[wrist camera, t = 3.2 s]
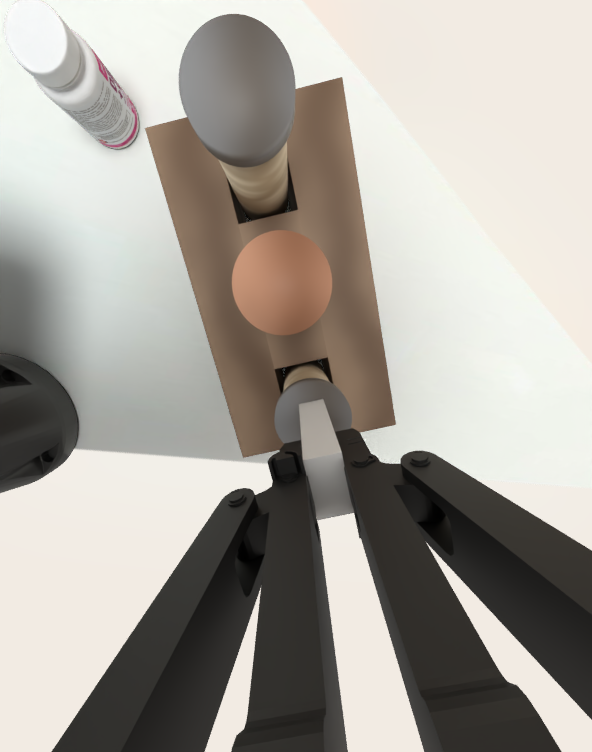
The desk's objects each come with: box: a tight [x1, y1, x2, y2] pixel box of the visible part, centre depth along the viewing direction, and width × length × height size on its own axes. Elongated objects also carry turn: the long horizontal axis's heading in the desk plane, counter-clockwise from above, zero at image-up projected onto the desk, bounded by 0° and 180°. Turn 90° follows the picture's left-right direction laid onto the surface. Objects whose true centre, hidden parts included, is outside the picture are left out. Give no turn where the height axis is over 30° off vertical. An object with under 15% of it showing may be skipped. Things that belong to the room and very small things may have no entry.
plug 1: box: [179, 14, 295, 221], centre depth 18 cm, size 5×5×12 cm
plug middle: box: [232, 230, 332, 335], centre depth 20 cm, size 5×5×12 cm
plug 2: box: [274, 360, 352, 443], centre depth 23 cm, size 5×5×12 cm
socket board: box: [145, 77, 396, 458], centre depth 26 cm, size 14×26×8 cm, turn 13°
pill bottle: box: [4, 0, 139, 149], centre depth 22 cm, size 5×5×8 cm
